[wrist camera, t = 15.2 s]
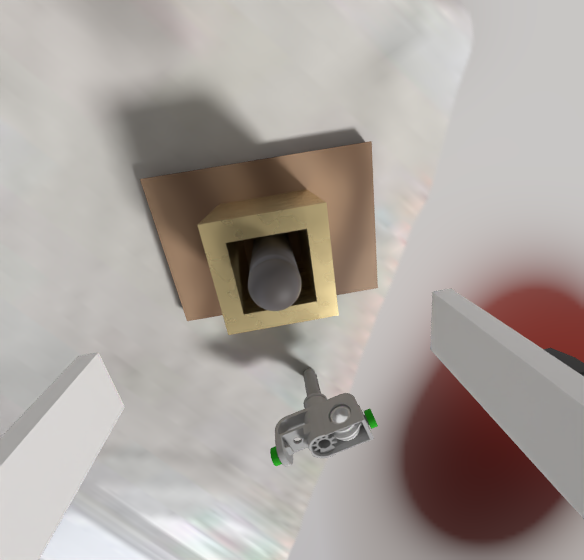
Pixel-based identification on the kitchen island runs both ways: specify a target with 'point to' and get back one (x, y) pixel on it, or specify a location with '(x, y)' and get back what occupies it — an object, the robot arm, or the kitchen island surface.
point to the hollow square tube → (262, 222)
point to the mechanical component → (321, 425)
